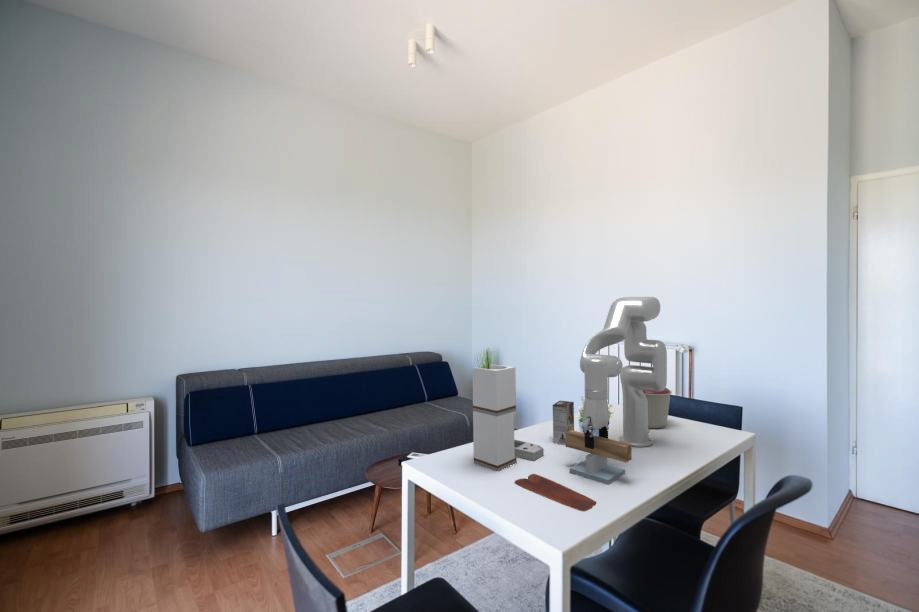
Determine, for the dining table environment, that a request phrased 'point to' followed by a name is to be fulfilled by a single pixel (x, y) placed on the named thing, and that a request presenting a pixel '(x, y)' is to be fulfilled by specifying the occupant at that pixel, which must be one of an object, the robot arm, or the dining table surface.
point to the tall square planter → (494, 416)
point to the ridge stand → (597, 469)
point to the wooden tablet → (556, 492)
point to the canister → (657, 407)
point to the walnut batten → (600, 446)
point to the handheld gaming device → (527, 450)
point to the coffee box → (562, 420)
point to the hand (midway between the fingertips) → (596, 444)
